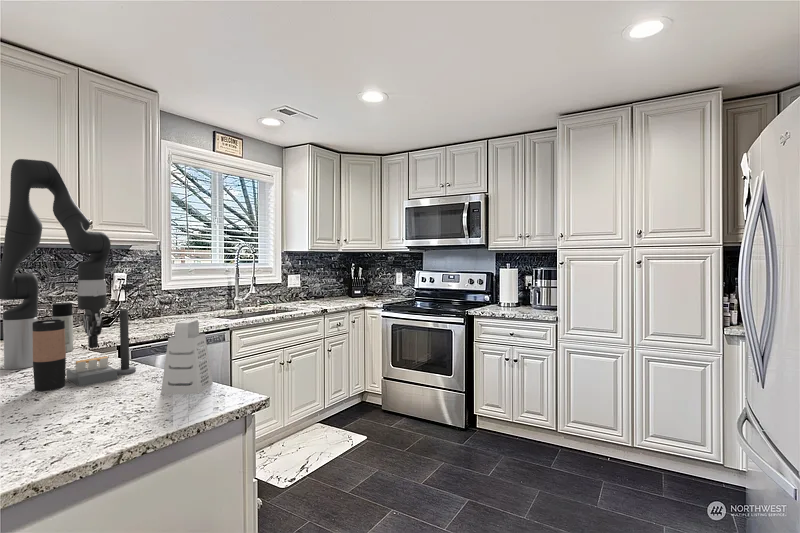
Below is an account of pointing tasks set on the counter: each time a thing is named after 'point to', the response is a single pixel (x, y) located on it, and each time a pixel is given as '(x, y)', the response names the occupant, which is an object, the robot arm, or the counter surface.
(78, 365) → the breaker paddles
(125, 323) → the stand
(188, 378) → the grater
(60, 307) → the spray can
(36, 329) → the travel mug
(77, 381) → the breaker panel
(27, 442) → the counter surface
